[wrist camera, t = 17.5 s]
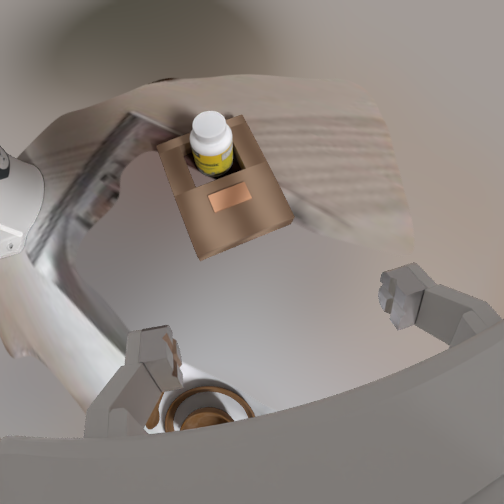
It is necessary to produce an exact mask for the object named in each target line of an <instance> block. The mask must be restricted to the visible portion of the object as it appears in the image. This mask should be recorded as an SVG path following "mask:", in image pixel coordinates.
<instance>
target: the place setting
mask: <svg viewBox="0 0 504 504" xmlns="http://www.w3.org/2000/svg"><path fill="white" fill-rule="evenodd" d="M208 391H210V392H219V393H222V394H225V395H227V396H230V397H231V398H233V399H234V400H236V401H237V402H238V403H239V404H240V405H241V406H242V407H243V408H244V410H245V411H246V413H247V415H248V418H253V417H255V415H254V413H253V411H252V409H251V407H250V406H249V405H248V404H247V402H246V401H245V400H244V399H242V398H241V397H240V396H239V395H237V394H235V393H234V392H232V391H230V390H227V389H224V388H221V387H215V386H201V387H196V388H193V389H190V390H188V391H186V392H184V393H182V394H181V395H180V396H178V397H177V398H176V399H175V400H174V401H173V402H172V404H171V405H170V407H169V409H168V411H167V413H166V417H165V432H173V431H174V427H173V420H174V415H175V412H176V410H177V408H178V406H179V405H180V404H181V403H182V402H183V401H184V400H185V399H186V398H188V397H189V396H191V395H194V394H196V393H200V392H208ZM161 393H162V394H161V396H160V398H159V400H158V402H157V404H156V406H155V408H154V409H153V411H152V413H151V415H150V417H149V419H148V421H147V423H146V427H147V428H148V429H153V428H154V427H155V426H156V425H157V424H158V422H159V411H158V408H159V404H160V401H161V399H162V396H163V394H164V392H161ZM229 422H234V420H233V419H232V418H231V416H229V415H228V414H227V413H226V412H224V411H222V410H220V409H217V408H213V407H204V408H200V409H197V410H195V411H193V412H192V413H191V414H189V415H188V416H187V418H186V419H185V421H184V422H183V424H182V426H181V428H180V431H181V430H188V429H195V428H201V427H207V426H213V425H218V424H224V423H229Z"/></svg>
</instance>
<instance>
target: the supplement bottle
mask: <svg viewBox="0 0 504 504" xmlns="http://www.w3.org/2000/svg"><path fill="white" fill-rule="evenodd" d="M192 128H193V129H192V131H191V133H190V145H191V148H192V152H193V156H194V160H195V164H196V166H197V168H198V170H199V171H200V172H201V173H202V174H204V175H206V176H209V177H217V176H221V175H223V174H225V173H226V172H227V171H228V170H229V169H230V168H231V166H232V163H233V139H232V138H233V137H232V131H231V129H230V127H229V126H228V125H227V124H226V120H225V118H224V116H223V115H221V114H220V113H218V112H215V111H205V112H202V113H200V114H199V115H197V116H196V117H195V119H194V121H193V124H192Z"/></svg>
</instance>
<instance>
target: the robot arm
mask: <svg viewBox="0 0 504 504" xmlns="http://www.w3.org/2000/svg"><path fill="white" fill-rule="evenodd" d="M43 196H44V181H43V177H42V174H41V172H40V171H39V169H38V168H37V167H35V166H34V165H32V164H28V163H25V162H23V161H20V160H18V159H16V158H14V157H12V156H11V155H9V154H7V153H6V152H5V151H4V149H3V148H2V147H1V146H0V259H1V258H4V257H7V256H11V255H14V254H18V253H20V252H21V251H22V249H23V247H24V244H25V241H26V237H27V234H28V231H29V230H30V228H31V226H32V225H33V223H34V221H35V220H36V218H37V216H38V213H39V211H40V208H41V205H42V201H43ZM12 245H13V247H12ZM380 281H381V282H382V283H383V285H382V286H381V288H380V289H379V294H378V297H379V303H380V305H381V307H382V309H383V310H384V312H386V313H389V314H390V320H391V322H392V323H393V324H394V326H395V327H396V329H397V330H401V329H403V328H406V327H409V326H412V325H416V326H417V327H419V328H421V329H423V330H424V331H426V332H428V333H429V334H431V335H433V336H434V337H436V338H438V339H440V340H441V341H443V342H445V343H446V344H448V345H450V347H449V349H447V350H445V351H443V352H441V353H439V354H437V355H435V356H433V357H430V358H428V359H426V360H424V361H422V362H419V363H417V364H415V365H413V366H410V367H408V368H406V369H403V370H401V371H399V372H396V373H394V374H391V375H389V376H386V377H384V378H381V379H379V380H377V381H374V382H371V383H368V384H365V385H363V386H360V387H357V388H354V389H351V390H349V391H345V392H343V393H340V394H336V395H334V396H331V397H327V398H324V399H321V400H318V401H314V402H311V403H307V404H304V405H300V406H297V407H293V408H289V409H286V410H282V411H278V412H274V413H270V414H266V415H261V416H257V417H253V418H248V419H244V420H239V421H234V422H229V423H224V424H218V425H213V426H207V427H201V428H195V429H188V430H181V431H173V432H165V433H156V434H148V433H147V432H146V431H145V430H144V429H143V428H144V426H145V425H146V423H147V421H148V419H149V417H150V415H151V413H152V411H153V409H154V408H155V406H156V404H157V402H158V400H159V398H160V396H161V394H162V393H161V392H166V391H171V390H177V389H182V388H183V374H182V372H181V370H180V366H181V365H182V359H181V354H180V349H179V346H178V343H177V341H176V340H175V339H173V337H172V336H173V335H172V330H171V328H170V326H169V325H164V326H158V327H152V328H146V329H142V330H136V331H130V332H129V334H128V339H127V348H126V357H125V366H121V367H120V368H119V369H118V371H117V372H116V373H115V374H114V376H113V377H112V378H111V380H110V381H109V382H108V383H107V385H106V386H105V387H104V388H103V390H102V391H101V392H100V394H99V395H98V396H97V397H96V399H95V400H94V401H93V403H92V404H91V405H90V407H89V408H88V409H87V413H86V421H85V430H84V438H42V437H26V436H15V435H8V436H5V437H3V438H2V439H1V440H0V504H504V319H501V317H500V316H499V315H498V314H497V313H496V312H495V311H494V309H492V307H491V306H490V305H489V304H488V303H487V302H485V301H483V300H480V299H478V298H475V297H473V296H470V295H467V294H465V293H462V292H460V291H457V290H454V289H452V288H449V287H446V286H444V285H441V284H440V285H437V284H436V283H435V282H434V281H433V280H432V279H431V278H430V277H429V276H428V275H427V273H426V272H425V271H424V270H423V269H422V268H421V267H420V266H419V265H418V264H417V263H410V264H407V265H404V266H401V267H398V268H395V269H392V270H388V271H385V272H383V273H382V274H381V278H380Z"/></svg>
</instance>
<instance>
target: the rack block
mask: <svg viewBox="0 0 504 504" xmlns="http://www.w3.org/2000/svg"><path fill="white" fill-rule="evenodd" d="M226 124H227V125H228V126H229V127H230V129H231V131H232V137H233V138H232V139H233V153H234V155H235V157H236V159H237V162H238V164H239V166H240V168H241V171H238V172H235V173H233V174H230V175H227V176H225V177H222V178H219V179H217V180H214V181H212V182H209V183H207V184H204V185H202V186H199V187H195V184H194V182H193V179H192V177H191V174H190V172H189V169H188V167H187V164H186V162H185V159H184V157H183V156H185V155H187V154H190V153H192V148H191V145H190V133H191V132H190V133H188V134H185V135H182V136H180V137H177V138H174V139H172V140H169V141H167V142H164V143H162V144H159V145H157V146H156V147H157V150H158V153H159V155H160V158H161V161H162V164H163V167H164V170H165V172H166V175H167V178H168V180H169V183H170V186H171V189H172V191H173V194H174V197H175V200H176V202H177V205H178V208H179V210H180V213H181V215H182V218H183V221H184V223H185V226H186V229H187V231H188V234H189V236H190V239H191V242H192V244H193V247H194V249H195V252H196V254H197V257H198V258H199V260H200V261H201V260H204V259H206V258H209V257H211V256H214V255H216V254H218V253H221V252H223V251H226V250H228V249H230V248H233V247H236V246H238V245H240V244H243V243H245V242H248V241H250V240H253V239H255V238H257V237H260V236H262V235H265V234H267V233H270V232H272V231H275V230H277V229H280V228H282V227H285V226H287V225H289V224H291V223H292V221H293V219H294V215H293V213H292V211H291V208H290V206H289V204H288V202H287V200H286V198H285V196H284V194H283V192H282V190H281V188H280V186H279V184H278V182H277V180H276V178H275V176H274V174H273V172H272V170H271V168H270V167H269V165H268V163H267V161H266V159H265V157H264V155H263V153H262V151H261V149H260V147H259V145H258V143H257V141H256V140H255V138H254V136H253V134H252V132H251V130H250V128H249V126H248V125H247V123H246V121H245V119H244V117H243V115H239V116H236V117H233V118H230V119H227V120H226Z"/></svg>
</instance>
